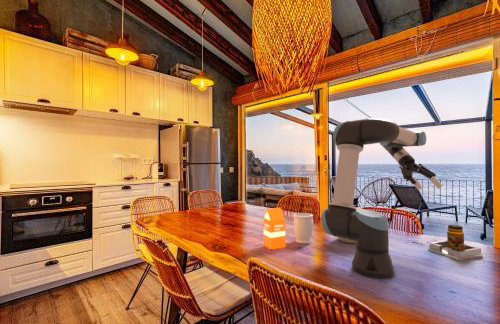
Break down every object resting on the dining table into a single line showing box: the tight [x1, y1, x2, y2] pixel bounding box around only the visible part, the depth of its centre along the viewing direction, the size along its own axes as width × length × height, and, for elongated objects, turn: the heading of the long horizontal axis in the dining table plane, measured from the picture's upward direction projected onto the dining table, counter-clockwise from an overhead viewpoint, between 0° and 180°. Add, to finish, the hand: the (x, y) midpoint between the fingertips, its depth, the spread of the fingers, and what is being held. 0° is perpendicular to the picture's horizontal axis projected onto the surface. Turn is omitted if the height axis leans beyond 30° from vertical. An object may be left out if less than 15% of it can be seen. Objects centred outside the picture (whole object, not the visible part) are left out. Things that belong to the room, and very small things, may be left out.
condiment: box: [442, 224, 465, 251], centre depth 116 cm, size 7×8×12 cm
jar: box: [293, 212, 314, 245], centre depth 137 cm, size 11×10×15 cm
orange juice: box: [263, 207, 286, 250], centre depth 130 cm, size 8×9×20 cm
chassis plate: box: [427, 239, 484, 261], centre depth 116 cm, size 15×14×4 cm
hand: (430, 187), depth 126 cm, fingers open, 13 cm apart
